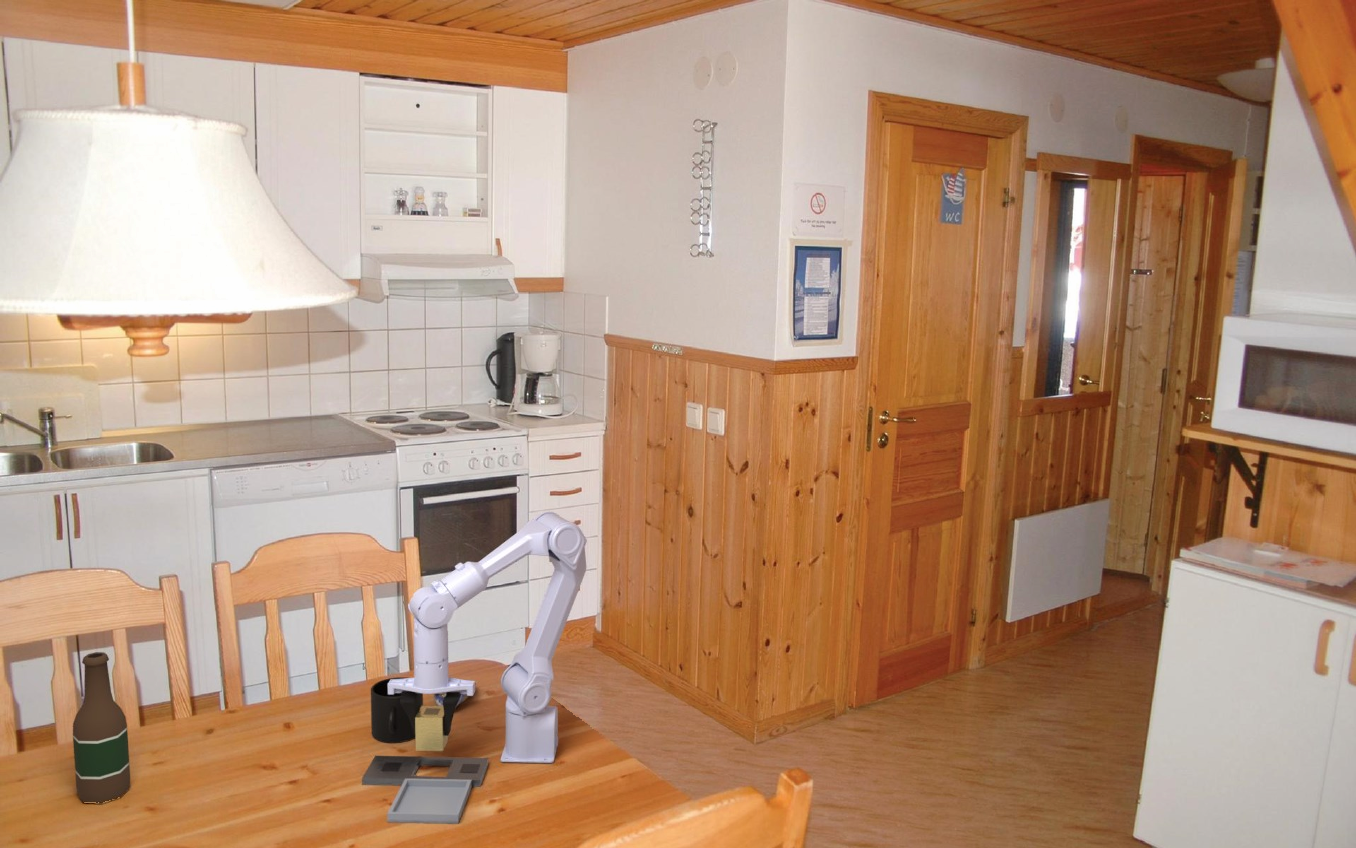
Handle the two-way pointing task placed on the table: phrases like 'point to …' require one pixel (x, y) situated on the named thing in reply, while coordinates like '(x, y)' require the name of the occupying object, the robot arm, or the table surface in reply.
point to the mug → (389, 715)
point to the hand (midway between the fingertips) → (432, 733)
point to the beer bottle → (100, 737)
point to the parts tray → (430, 801)
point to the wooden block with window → (430, 729)
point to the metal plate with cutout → (402, 767)
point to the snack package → (440, 698)
